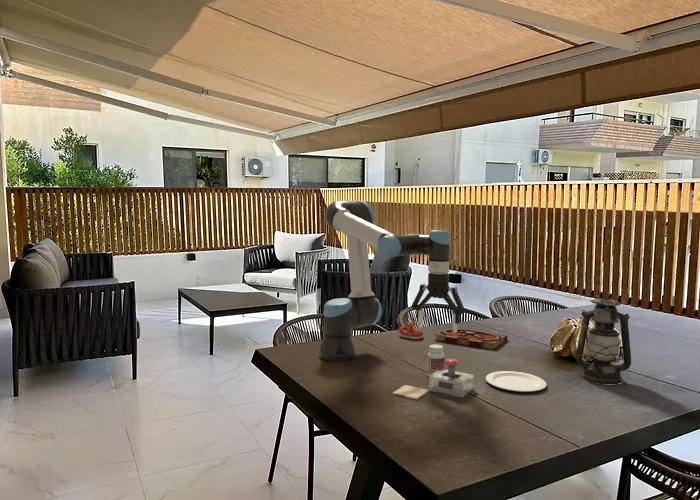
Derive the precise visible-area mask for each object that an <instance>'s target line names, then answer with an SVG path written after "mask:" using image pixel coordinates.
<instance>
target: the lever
mask: <svg viewBox="0 0 700 500" xmlns="http://www.w3.org/2000/svg"><path fill="white" fill-rule="evenodd" d="M444 360H445V361H444V365H446V366H447V370H448V377H452V378H455V371H456V367H457V366H459V360H458V359H456V358H446V359H444Z"/></svg>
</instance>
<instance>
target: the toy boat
mask: <svg viewBox="0 0 700 500" xmlns="http://www.w3.org/2000/svg"><path fill="white" fill-rule="evenodd" d="M414 327H415V323H414V322H412V321H410V322H408V323H407V326H400V327H399V328H398V333H399V336H400V337H401V338H403V339H408V338H409V340H413V339H414V341H415V340H416V339H417V340H420V339H421V338H423V336H424V332H423V331H422V330H419V329H418V330H417V329H414Z"/></svg>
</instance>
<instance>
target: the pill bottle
mask: <svg viewBox="0 0 700 500" xmlns="http://www.w3.org/2000/svg"><path fill="white" fill-rule="evenodd" d="M428 347H429V348H428V351H429V352H428V353H427V370H426V371H427V372H426V374H427V376H428V377H429V376H430V375H432V374H433V373H435V372H436V371H438V370H439V369H441V368H442V369H445V360H446V359H445V353H444V345H441V344H435V343H434V344H430V345H429V346H428Z"/></svg>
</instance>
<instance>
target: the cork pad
mask: <svg viewBox="0 0 700 500" xmlns="http://www.w3.org/2000/svg"><path fill="white" fill-rule="evenodd" d="M429 391H430V390H429V389H427V388H422V387H416V386H413V385H412V386H411V385H407V384H403V385H402V386H401V387H399V388H397V389H396V390H395V391H392V395H395V396H398V397H401V398H407V399H412V400H416V401H417V400H419V399H421V398H422V397H424V396H425V395H426V394H427V393H429Z"/></svg>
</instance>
